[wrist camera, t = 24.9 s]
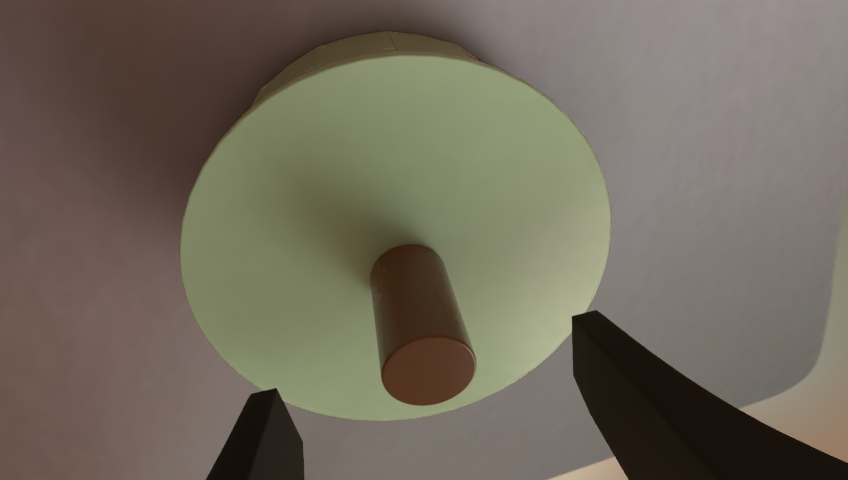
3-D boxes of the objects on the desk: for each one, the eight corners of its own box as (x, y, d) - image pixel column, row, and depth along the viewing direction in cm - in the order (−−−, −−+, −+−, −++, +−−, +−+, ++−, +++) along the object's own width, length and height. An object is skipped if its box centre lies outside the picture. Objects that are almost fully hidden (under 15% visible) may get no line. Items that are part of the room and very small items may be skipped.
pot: (157, 164, 19) (104, 239, 15) (435, -47, 17) (474, -36, 13) (359, 352, 26) (366, 445, 21) (582, 215, 23) (642, 286, 19)
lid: (209, 405, 19) (172, 550, 15) (157, 21, 13) (65, 75, 8) (545, 392, 22) (601, 512, 17) (651, 67, 15) (786, 127, 11)
